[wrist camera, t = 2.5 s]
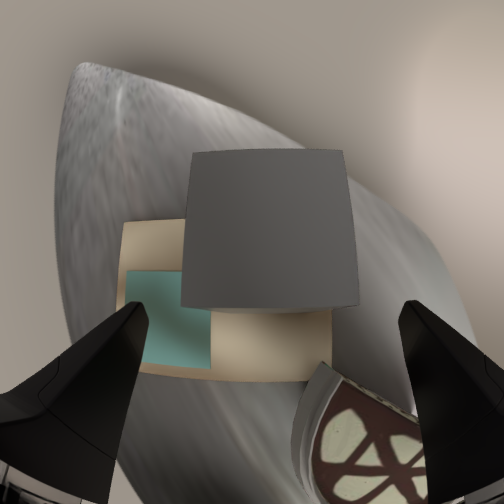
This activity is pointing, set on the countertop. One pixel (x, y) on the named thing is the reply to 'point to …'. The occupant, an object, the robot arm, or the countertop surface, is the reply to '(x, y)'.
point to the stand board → (210, 320)
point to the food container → (356, 445)
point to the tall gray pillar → (269, 233)
